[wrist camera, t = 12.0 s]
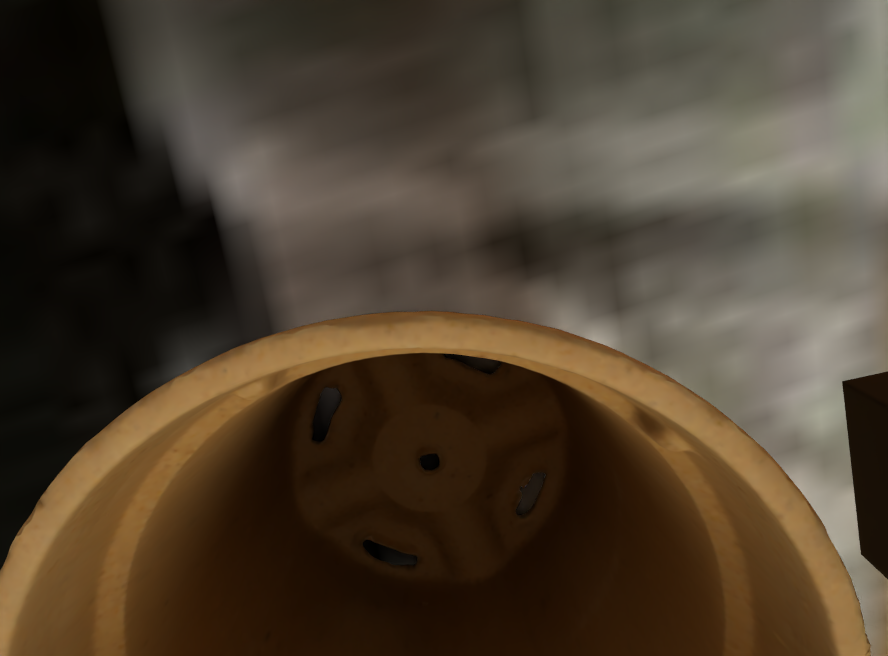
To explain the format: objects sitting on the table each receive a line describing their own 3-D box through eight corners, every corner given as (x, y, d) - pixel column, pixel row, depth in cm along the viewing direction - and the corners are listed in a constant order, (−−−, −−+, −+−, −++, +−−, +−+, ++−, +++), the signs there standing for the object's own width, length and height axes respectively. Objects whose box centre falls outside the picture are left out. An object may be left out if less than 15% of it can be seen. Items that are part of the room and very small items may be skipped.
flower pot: (658, 223, 15) (929, 299, 7) (647, 638, 17) (845, 1095, 9) (194, 239, 15) (-114, 333, 7) (237, 650, 17) (40, 1117, 9)
